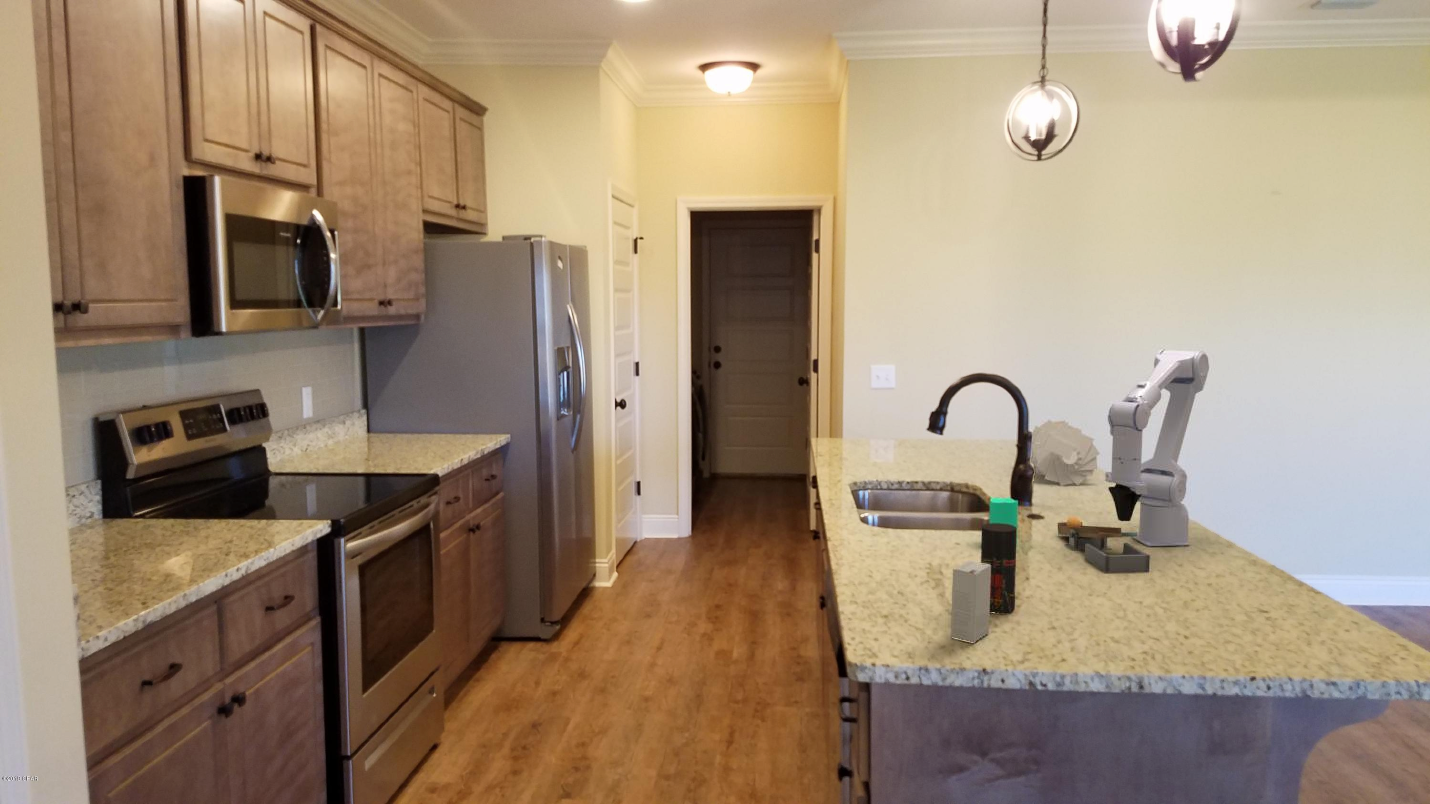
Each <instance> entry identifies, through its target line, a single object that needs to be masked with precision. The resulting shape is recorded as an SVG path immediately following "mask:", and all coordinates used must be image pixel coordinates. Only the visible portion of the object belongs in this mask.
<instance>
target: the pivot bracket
mask: <svg viewBox="0 0 1430 804" xmlns="http://www.w3.org/2000/svg"><path fill="white" fill-rule="evenodd" d="M1068 537H1069V538H1068V539H1069V541H1068V542H1069V543H1064V546H1066V548H1068V549H1070V550H1072V551H1073V552H1075V551H1078V552H1079V551H1085V544H1090V545H1092V546H1093V547H1095V548H1097V549H1098V550H1100V551H1109V550H1111V551H1112V549H1113V548H1112V547H1110V546H1108V538H1090V537H1079V536H1077V532H1076V531H1074V530H1070V532H1069V536H1068Z"/></svg>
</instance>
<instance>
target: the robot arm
mask: <svg viewBox="0 0 1430 804" xmlns="http://www.w3.org/2000/svg"><path fill="white" fill-rule="evenodd" d="M1153 365H1154V367H1153V370H1152V371H1151V373H1150V374H1149V376H1148V377H1147V378H1146V381H1139V382H1138V383H1136V385H1135V386H1134V387H1133V388H1132V389H1131V390H1130V392H1128V394H1127V395H1126V396H1125V397H1124V398H1123V399H1122V401H1121V400H1118V401H1116V402H1115V403H1112V404H1111V405H1110V407H1109V410H1108V413H1107V422H1108V425H1109V428H1110V429H1109V433H1110V436H1112V446H1111V447H1112V448H1111V471H1106V472H1105V481H1106V482H1107V483H1111V484H1115V485H1114V486H1108V492H1109V494H1110V496H1111V497H1112V499H1113V503H1114V507H1115V512H1116V516H1117V519H1118V521H1120V522H1131V519H1132V517H1133V513H1134V511H1135V507H1136V505H1137V503H1140V504H1139V526H1138V527H1139V528H1138V529H1139V530H1138V532H1139V533H1138V534H1137V535H1138V536H1137V537H1131V538H1132V539H1134V540H1136V541H1137V542H1140V543H1142V544H1143V545H1145V546H1147V547H1166V546H1167V547H1168V546H1170V547H1171V546H1173V547H1174V546H1177V547H1178V546H1189V545H1190V542H1189V541H1188V540H1189V520H1190V519H1189V511H1188V508H1187V506H1186V505H1185V504H1183V503H1182V502H1183V500H1184V499H1185V497H1186V493H1187V480H1188V475H1187V473H1186V471H1185V470H1184V469H1183V467H1181V466H1180V465H1179V464H1178V461H1179V457H1180V455H1181V449H1182V448H1183V447H1182V445H1183V443H1184V439H1185V435H1186V433H1187V432H1186V431H1187V429H1188V425H1189V421H1190V416H1191V412H1192V409H1193V406H1194V402H1195V398H1196V395H1197V394H1198V393H1200V392H1202V391H1203V390H1204V387H1205V385H1206V381H1207V378H1208V375H1209V374H1208V373H1209V370H1210V364H1209V358H1208V355H1207V354H1206V352H1205V351H1204V350H1198V351H1197V350H1196V351H1195V350H1169V349H1164V348H1163V349H1160V350H1159V351H1158V352H1157V353H1156V354H1155V356H1154V362H1153ZM1163 389H1164V390H1165V391H1167V392H1169V394H1170V395H1169V400H1168V402H1167V406H1166V409H1165V413H1164V417H1163V420H1162V425H1161V428H1160V431H1159V435H1158V437H1157V441H1156V445H1155V449H1154V452H1153V456H1152V457H1151V458H1150V459H1148V460H1146V461H1144V462H1142V454H1143V452H1142V451H1143V432H1144V431H1143V430H1145V429H1146V428H1147V426H1148V424H1149V419H1150V417H1151V415H1152V413H1151V412H1152V410H1153V409H1154V408H1155V407H1156V405H1157V404H1158V403H1159V402H1160V400H1161V399H1162V392H1161V391H1162V390H1163Z"/></svg>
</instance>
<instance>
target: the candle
mask: <svg viewBox="0 0 1430 804" xmlns="http://www.w3.org/2000/svg"><path fill="white" fill-rule="evenodd" d="M1018 505H1019V501H1018V500H1014V499H1013V498H1011V497H1003V498H1002V497H991V498H990V500H989V522H988V524H989V523H1002V524H1009V525H1013V526H1015V527H1016V528H1017V529H1018V511H1019V508H1018V507H1019V506H1018ZM1017 547H1018V535H1017V536H1016V548H1017Z"/></svg>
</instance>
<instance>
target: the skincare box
mask: <svg viewBox="0 0 1430 804" xmlns="http://www.w3.org/2000/svg"><path fill="white" fill-rule="evenodd" d="M990 582H991V565H990V564H985V563H981V562H978V561H973V560H967V561H965V562H964V563H961V564H959V565H958V566H957V567H955V568H953V569H952V583H951V584H952V587H951V592H952V593H951V619H950V620H951V621H950V638H951V637H954V638H958V639H961V640H966V641H970V642H973V643H974V642H976V641H977V640H978V641H980V640H981V639H983V638H984V637H985V636H987V635H988V634H990V633H989V632H990V614H991V613H990ZM986 634H987V635H986ZM983 636H984V637H983ZM980 638H981V639H980ZM979 639H980V640H979ZM978 641H977V642H978ZM977 642H976V643H977ZM974 644H975V643H974Z"/></svg>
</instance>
